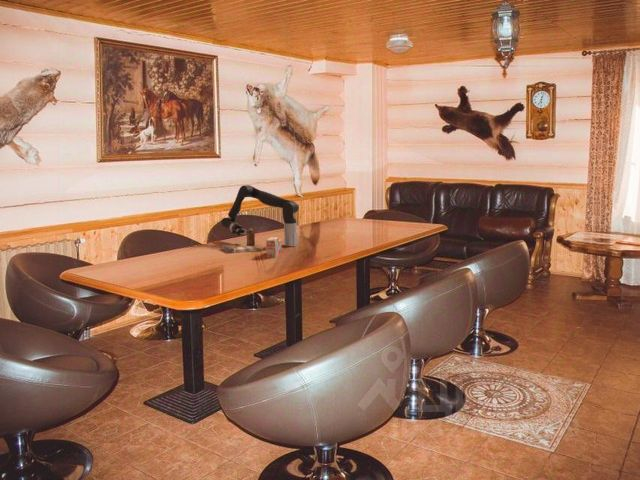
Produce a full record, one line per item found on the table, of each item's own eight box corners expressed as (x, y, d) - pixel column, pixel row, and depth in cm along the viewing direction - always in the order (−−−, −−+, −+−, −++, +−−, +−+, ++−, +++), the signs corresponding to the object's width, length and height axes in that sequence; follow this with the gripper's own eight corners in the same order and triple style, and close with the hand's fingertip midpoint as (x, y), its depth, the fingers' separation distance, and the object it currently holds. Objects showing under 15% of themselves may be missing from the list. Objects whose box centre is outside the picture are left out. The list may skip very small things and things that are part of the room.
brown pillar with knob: (252, 246, 455) (252, 228, 452) (254, 247, 451) (254, 228, 448) (246, 247, 453) (246, 228, 450) (249, 248, 449) (248, 229, 446)
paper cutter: (254, 246, 457) (254, 242, 456) (262, 250, 442) (262, 246, 441) (222, 249, 445) (222, 245, 445) (229, 253, 430) (229, 248, 430)
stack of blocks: (273, 252, 435) (272, 235, 433) (281, 252, 434) (281, 235, 432) (266, 257, 414) (266, 240, 412) (275, 258, 414) (275, 240, 412)
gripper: (228, 223, 468) (236, 229, 455) (245, 223, 476) (253, 229, 463) (227, 232, 470) (235, 238, 457) (243, 233, 478) (252, 238, 464)
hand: (244, 234), depth 460 cm, fingers open, 8 cm apart
